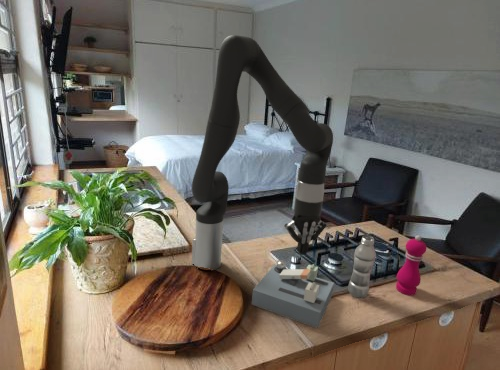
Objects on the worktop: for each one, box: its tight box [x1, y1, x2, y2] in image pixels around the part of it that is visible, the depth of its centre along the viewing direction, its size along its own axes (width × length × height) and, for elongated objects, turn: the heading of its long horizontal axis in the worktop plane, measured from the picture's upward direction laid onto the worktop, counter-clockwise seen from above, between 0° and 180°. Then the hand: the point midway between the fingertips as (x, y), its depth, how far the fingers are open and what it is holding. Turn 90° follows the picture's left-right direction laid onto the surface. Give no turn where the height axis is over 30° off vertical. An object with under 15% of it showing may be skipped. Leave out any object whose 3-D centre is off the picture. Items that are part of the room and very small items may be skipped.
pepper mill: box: [395, 234, 427, 296], centre depth 115 cm, size 7×7×20 cm
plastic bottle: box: [347, 235, 377, 299], centre depth 110 cm, size 6×7×20 cm
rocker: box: [279, 268, 311, 279], centre depth 108 cm, size 9×5×1 cm, turn 65°
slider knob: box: [304, 282, 319, 303], centre depth 100 cm, size 3×4×4 cm
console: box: [251, 264, 335, 329], centre depth 107 cm, size 20×17×6 cm
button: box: [276, 259, 287, 271], centre depth 114 cm, size 3×3×2 cm
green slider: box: [305, 263, 319, 281], centre depth 110 cm, size 3×3×4 cm
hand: (302, 253), depth 102 cm, fingers closed
